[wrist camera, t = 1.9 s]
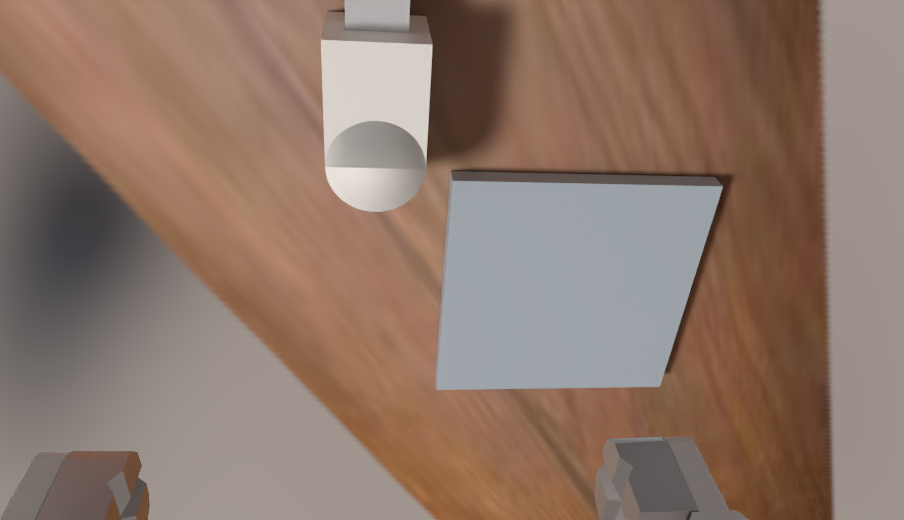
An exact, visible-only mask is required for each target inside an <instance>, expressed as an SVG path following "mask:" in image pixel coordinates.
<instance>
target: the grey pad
mask: <svg viewBox="0 0 904 520" xmlns="http://www.w3.org/2000/svg"><path fill="white" fill-rule="evenodd" d="M722 188H723V186H722V185H721V183H720V182H719V181H718V180H717V179H716V178H715V177H695V176H650V175H605V174H560V173H516V172H471V171H451V173H450V187H449V200H448V213H447V226H446V239H445V252H444V266H443V279H442V292H441V305H440V318H439V332H438V345H437V358H436V371H435V382H436V390H461V389H532V388H604V387H660V385H661V382H662V378H663V375H664V372H665V369H666V366H667V363H668V359H669V356H670V353H671V350H672V347H673V344H674V340H675V337H676V334H677V331H678V328H679V325H680V321H681V318H682V315H683V312H684V309H685V306H686V302H687V299H688V296H689V293H690V290H691V287H692V283H693V280H694V277H695V274H696V271H697V268H698V264H699V261H700V258H701V255H702V252H703V249H704V245H705V242H706V239H707V236H708V233H709V230H710V226H711V223H712V220H713V217H714V214H715V211H716V207H717V204H718V201H719V198H720V195H721V192H722Z"/></svg>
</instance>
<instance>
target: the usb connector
mask: <svg viewBox="0 0 904 520" xmlns="http://www.w3.org/2000/svg"><path fill="white" fill-rule="evenodd" d="M432 48H433V44H432V39H431V35H430V31H429V27H428V22H427V18H426V16H417V15H410V0H345V12H334V11H327V15H326V19H325V24H324V28H323V33H322V37H321V57H322V87H323V118H324V148H325V171H326V176H327V179H328V182H329V184H330V186H331V188H332V189H333V191H334V192H335V193H336V195H337V196H338V197H339V198H340V199H342V200H343V201H344V202H346V203H347V204H349V205H351V206H353V207H355V208H357V209H361V210H364V211H371V212H382V211H388V210H392V209H395V208H398V207H400V206H402V205H404V204H405V203H407V202H408V201H409V200H411V199H412V198H413V197H414V196H415V195H416V193H417V192H418V191H419V189H420V187H421V186H422V183H423V181H424V178H425V173H426V159H427V140H428V122H429V104H430V85H431V67H432Z"/></svg>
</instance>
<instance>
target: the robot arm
mask: <svg viewBox="0 0 904 520" xmlns="http://www.w3.org/2000/svg"><path fill="white" fill-rule="evenodd" d="M602 454H603V457H604V460H605V463H606V464H605V465H603V466H602V467H601V468H600V469H599V470H598V471H597V476H596V480H595V501H596V507H597V511H598V515H599V518H600V520H749V519H748V518H746V517H745V516H744V515H742V514H741V513H740V512H738V511H729V509H728V507H727V505H726V503H725V501H724V499H723V497H722V495H721V493H720V491H719V489H718V487H717V485H716V483H715V481H714V479H713V477H712V475H711V473H710V471H709V469H708V468H707V466H706V464H705V462H704V460H703V458H702V456H701V454H700V452H699V450H698V448H697V446H696V444H695V442H694V441H693V440H692V439H691V438H690V437H662V438H660V437H649V438H622V439H608V441H607V442H606V443H605V446H604V449H603V453H602ZM141 466H142V465H141V462H140V459H139V456H138V453H137V452H133V451H72V452H39V453H38V454H37V455H36V456H35V457H34V458H33V459H32V460H31V461H30V463H29V465H28V467H27V469H26V471H25V473H24V475H23V477H22V479H21V480H20V482H19V484H18V486H17V488H16V490H15V492H14V494H13V496H12V498H11V499H10V501H9V503H8V505H7V507H6V509H5V511H4V513H3V515H2V516H1V519H0V520H148V513H149V493H148V488H147V484H146V483H145V482H144V481H142V480H141V479H139V478H138V475H139V472H140V469H141Z"/></svg>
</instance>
